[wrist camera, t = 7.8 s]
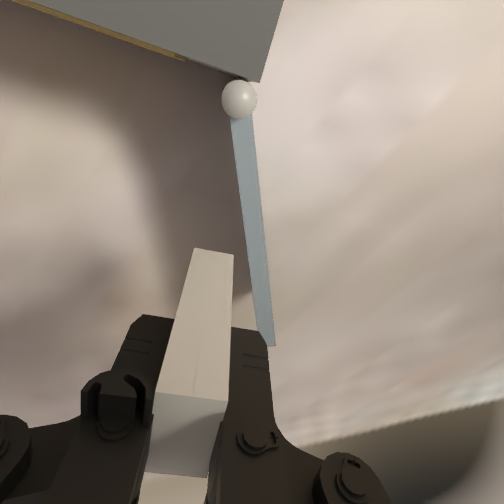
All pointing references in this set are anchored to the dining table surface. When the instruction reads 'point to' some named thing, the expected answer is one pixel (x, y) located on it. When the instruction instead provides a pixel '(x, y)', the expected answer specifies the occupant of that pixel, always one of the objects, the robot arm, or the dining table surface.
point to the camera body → (182, 28)
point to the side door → (250, 198)
